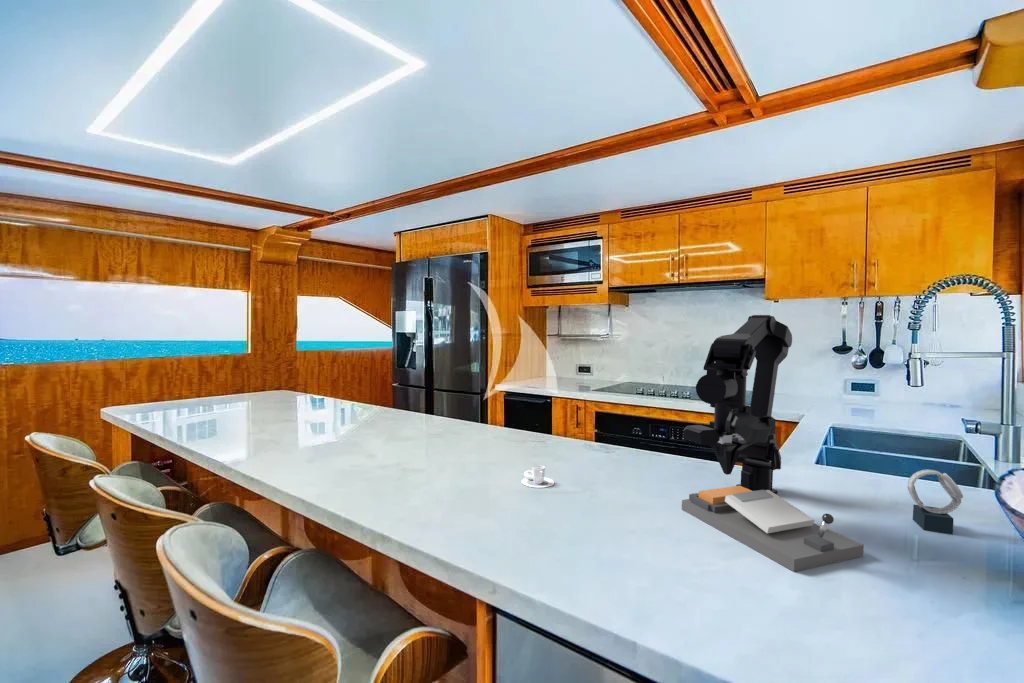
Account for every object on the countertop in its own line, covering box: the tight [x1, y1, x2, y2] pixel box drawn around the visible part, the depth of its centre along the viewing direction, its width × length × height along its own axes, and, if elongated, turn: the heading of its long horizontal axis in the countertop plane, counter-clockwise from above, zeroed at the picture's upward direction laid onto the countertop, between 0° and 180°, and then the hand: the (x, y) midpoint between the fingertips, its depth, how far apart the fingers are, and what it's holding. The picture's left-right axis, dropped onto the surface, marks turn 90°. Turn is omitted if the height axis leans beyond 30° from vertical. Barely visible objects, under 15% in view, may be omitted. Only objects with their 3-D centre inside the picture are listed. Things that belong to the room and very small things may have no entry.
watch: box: [907, 468, 964, 535], centre depth 92 cm, size 6×8×11 cm
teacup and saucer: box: [520, 464, 555, 489], centre depth 114 cm, size 9×8×4 cm
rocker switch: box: [725, 490, 815, 533], centre depth 88 cm, size 11×10×1 cm
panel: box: [681, 492, 865, 573], centre depth 89 cm, size 16×26×3 cm, turn 20°
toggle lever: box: [817, 513, 835, 538], centre depth 78 cm, size 2×2×5 cm
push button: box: [698, 485, 752, 504], centre depth 97 cm, size 11×4×2 cm, turn 110°
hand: (727, 474), depth 97 cm, fingers closed
